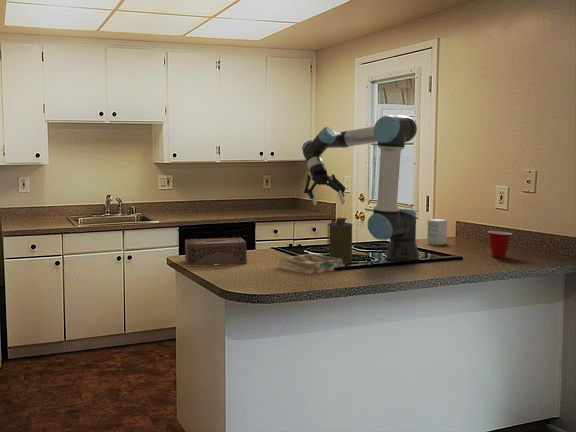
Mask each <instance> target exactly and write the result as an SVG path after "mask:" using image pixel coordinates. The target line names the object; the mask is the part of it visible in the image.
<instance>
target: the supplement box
mask: <svg viewBox="0 0 576 432" xmlns="http://www.w3.org/2000/svg"><path fill="white" fill-rule="evenodd" d="M426 238H427V244H428V245H435V246H442V245H446V244H448V243H447V242H448V220H447V219H442V218H441V219H440V218H434V219H433V218H432V219H428V220H427V237H426Z"/></svg>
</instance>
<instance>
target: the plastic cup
mask: <svg viewBox="0 0 576 432" xmlns="http://www.w3.org/2000/svg"><path fill="white" fill-rule="evenodd" d="M487 233H488V236H489V244H490V245H489V246H490V251H491V256H492V258H496V259H505V258H506V256H507V250H508V248H509V243H510V238H511V236H512V235H513V233H512V232H508V231H498V230H487Z"/></svg>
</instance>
